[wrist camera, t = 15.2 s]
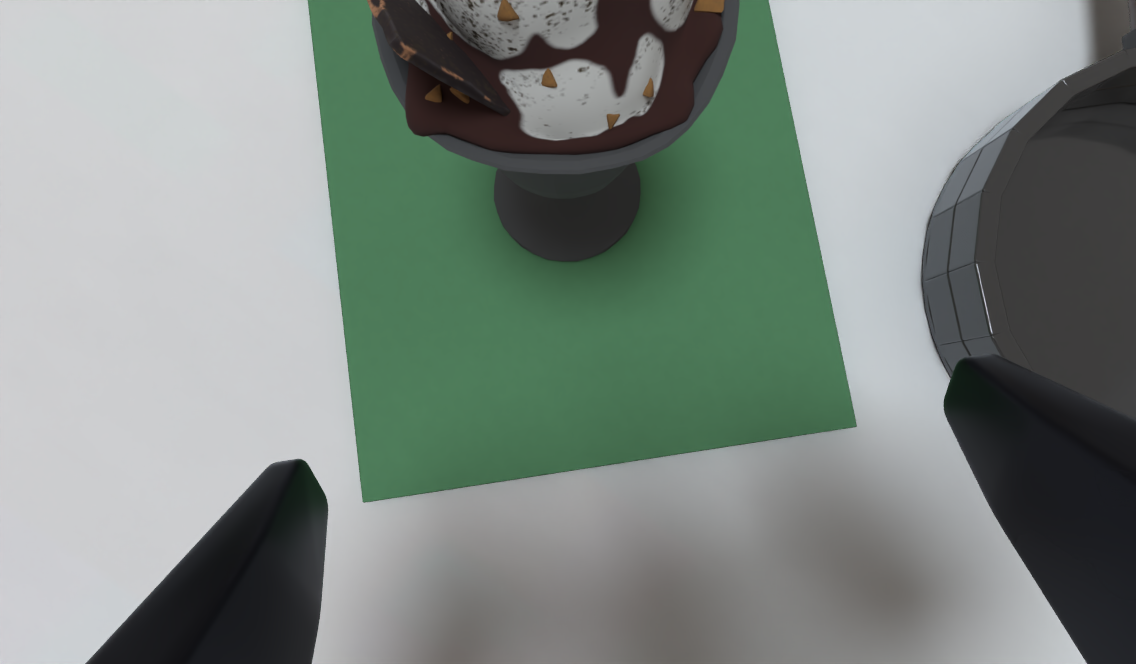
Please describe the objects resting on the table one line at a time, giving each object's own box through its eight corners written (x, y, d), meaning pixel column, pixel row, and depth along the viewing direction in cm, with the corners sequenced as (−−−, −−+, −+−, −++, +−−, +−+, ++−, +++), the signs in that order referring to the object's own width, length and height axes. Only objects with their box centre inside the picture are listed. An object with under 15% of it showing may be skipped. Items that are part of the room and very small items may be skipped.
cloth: (853, 426, 21) (857, 426, 20) (365, 501, 21) (362, 503, 20) (744, -100, 23) (746, -106, 23) (306, -32, 23) (303, -38, 23)
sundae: (669, 99, 22) (857, -564, 7) (661, 292, 21) (853, 6, 6) (477, 90, 22) (262, -576, 7) (462, 281, 21) (181, -23, 6)
